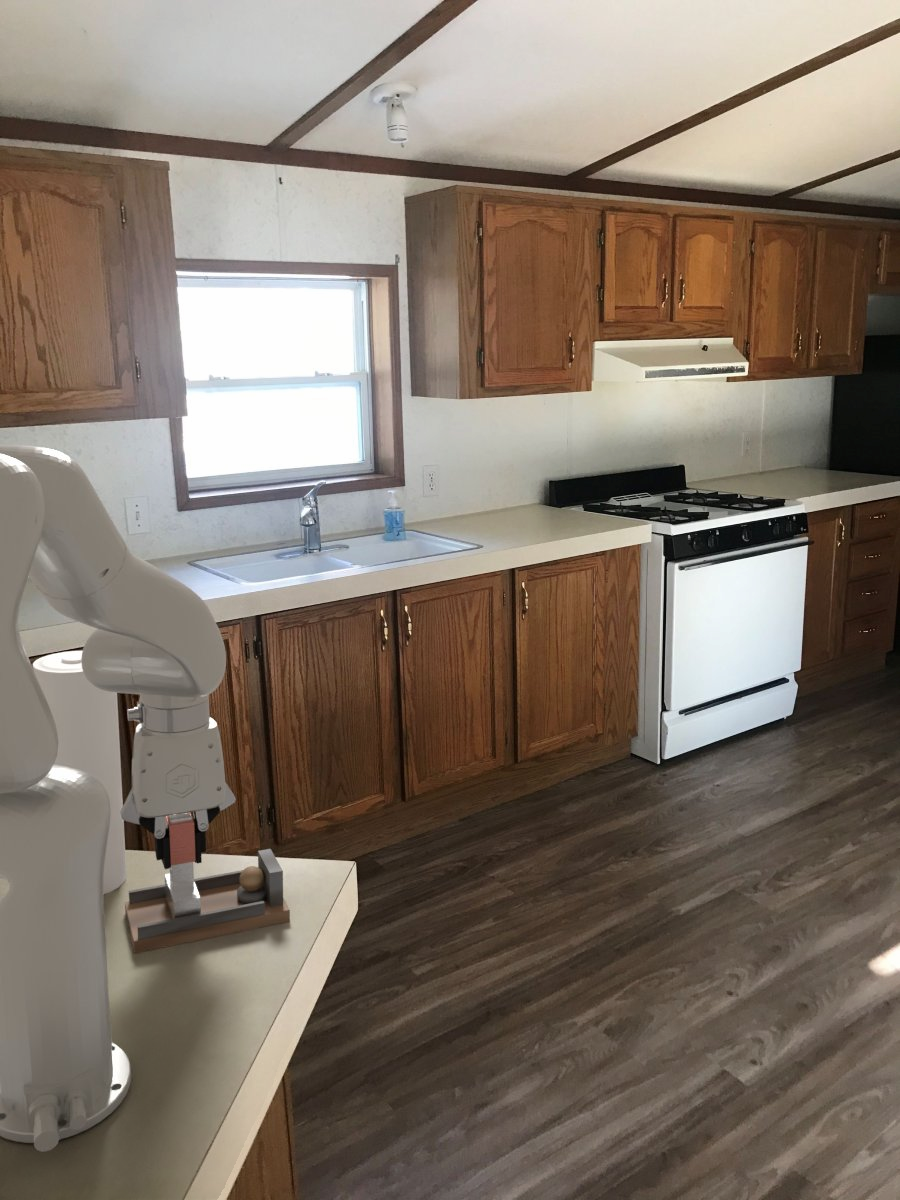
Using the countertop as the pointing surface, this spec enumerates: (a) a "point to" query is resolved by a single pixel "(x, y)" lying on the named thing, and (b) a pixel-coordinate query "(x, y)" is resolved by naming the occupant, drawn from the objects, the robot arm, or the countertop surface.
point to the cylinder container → (88, 742)
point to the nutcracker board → (210, 907)
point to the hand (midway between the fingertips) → (181, 859)
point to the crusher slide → (181, 867)
